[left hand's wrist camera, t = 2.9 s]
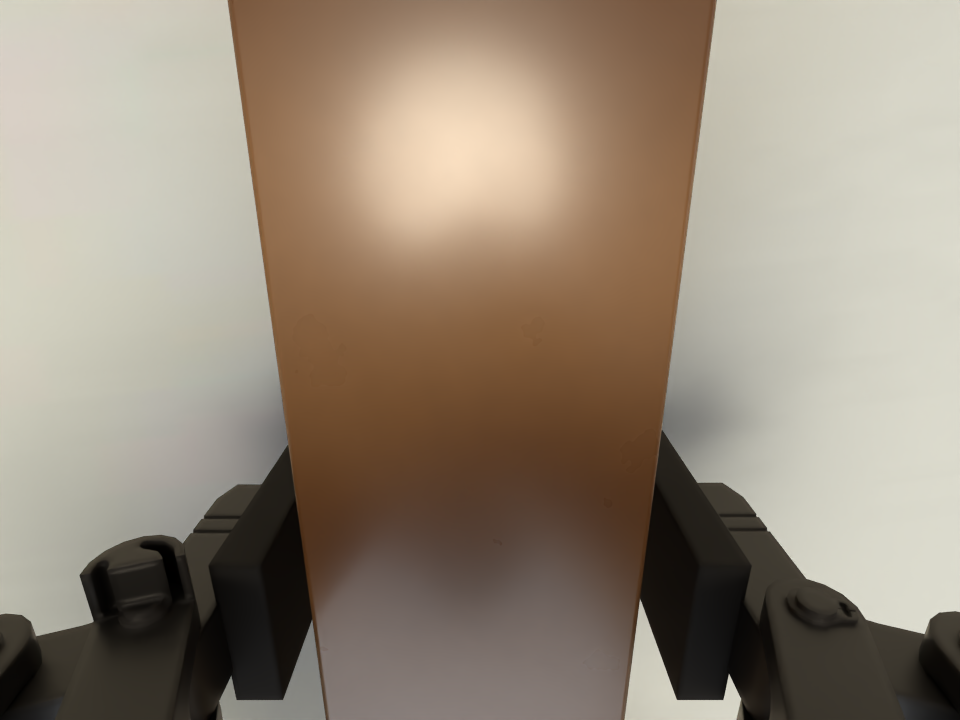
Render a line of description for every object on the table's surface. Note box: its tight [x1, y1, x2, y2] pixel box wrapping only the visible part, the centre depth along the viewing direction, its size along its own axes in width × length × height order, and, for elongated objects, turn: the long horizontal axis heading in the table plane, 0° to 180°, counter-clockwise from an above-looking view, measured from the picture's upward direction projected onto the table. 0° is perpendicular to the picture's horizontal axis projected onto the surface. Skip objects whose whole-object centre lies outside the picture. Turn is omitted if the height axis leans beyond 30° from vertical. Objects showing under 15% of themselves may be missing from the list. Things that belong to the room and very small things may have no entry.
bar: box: [228, 0, 717, 720], centre depth 9 cm, size 23×4×8 cm, turn 0°
